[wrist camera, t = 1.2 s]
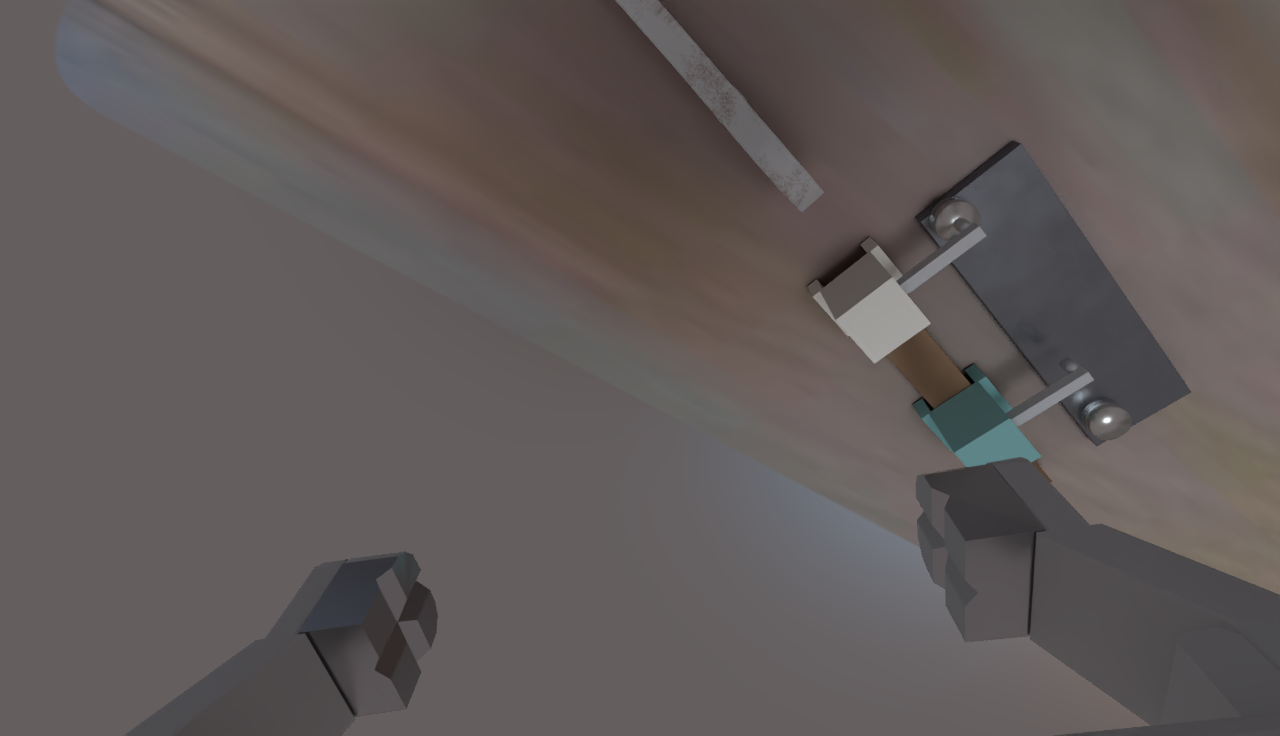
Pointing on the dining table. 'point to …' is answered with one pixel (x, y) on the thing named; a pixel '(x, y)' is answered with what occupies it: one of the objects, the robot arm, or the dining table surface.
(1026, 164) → the bolt plate
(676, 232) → the dining table surface
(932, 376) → the rail
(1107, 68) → the dining table surface
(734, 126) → the wrench
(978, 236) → the fixed leg
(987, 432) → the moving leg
